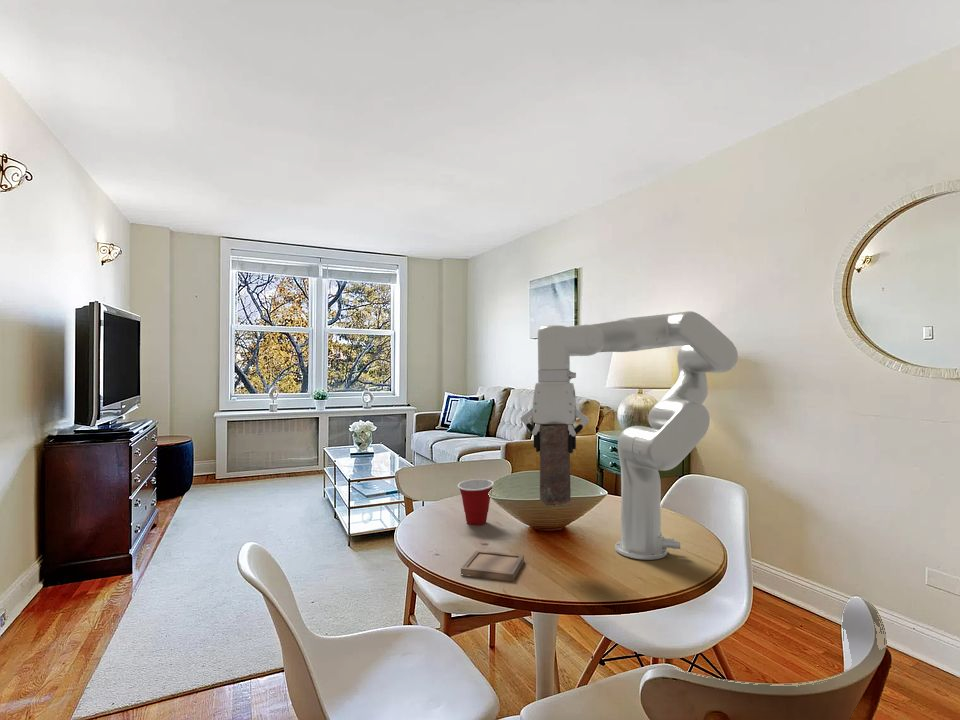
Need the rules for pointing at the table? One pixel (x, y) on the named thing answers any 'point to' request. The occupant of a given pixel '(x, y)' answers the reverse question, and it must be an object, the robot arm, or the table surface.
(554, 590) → the table surface
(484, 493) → the plastic cup
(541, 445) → the grey brown rough cylinder
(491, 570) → the picture frame
